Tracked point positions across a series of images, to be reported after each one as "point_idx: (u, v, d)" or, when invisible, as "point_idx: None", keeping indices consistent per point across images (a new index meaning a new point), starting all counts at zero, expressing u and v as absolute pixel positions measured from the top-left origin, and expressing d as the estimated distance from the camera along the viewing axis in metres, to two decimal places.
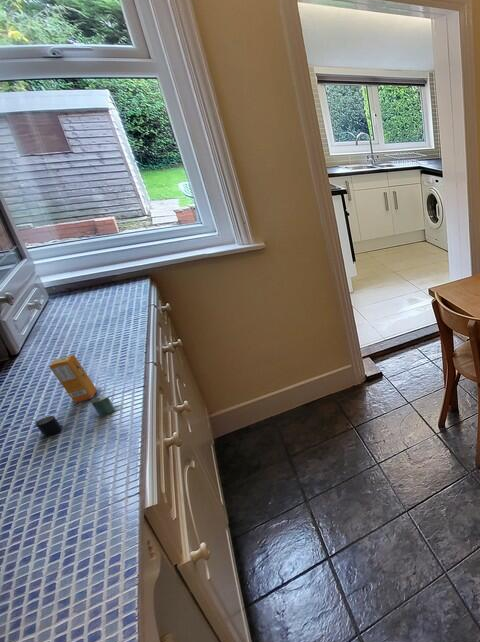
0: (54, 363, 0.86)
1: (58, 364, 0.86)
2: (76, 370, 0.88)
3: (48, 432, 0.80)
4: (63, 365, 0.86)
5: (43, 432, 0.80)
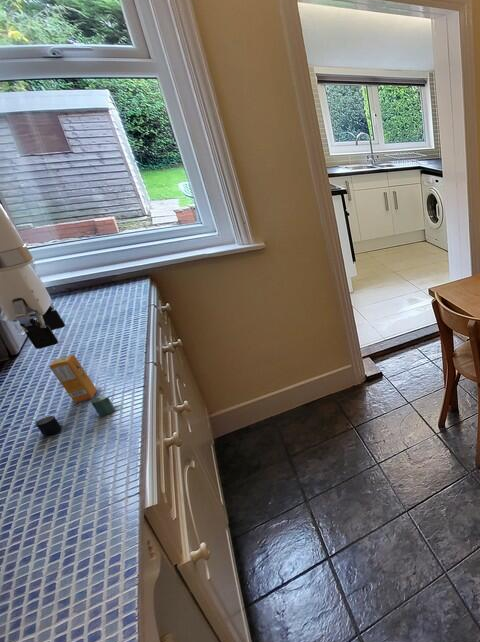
0: (54, 363, 0.86)
1: (58, 364, 0.86)
2: (76, 370, 0.88)
3: (48, 432, 0.80)
4: (63, 365, 0.86)
5: (43, 432, 0.80)
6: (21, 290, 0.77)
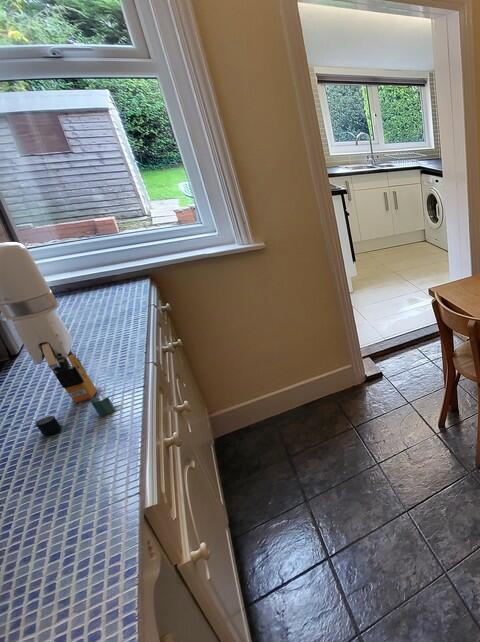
0: None
1: None
2: None
3: (48, 432, 0.80)
4: None
5: (43, 432, 0.80)
6: (47, 334, 0.81)
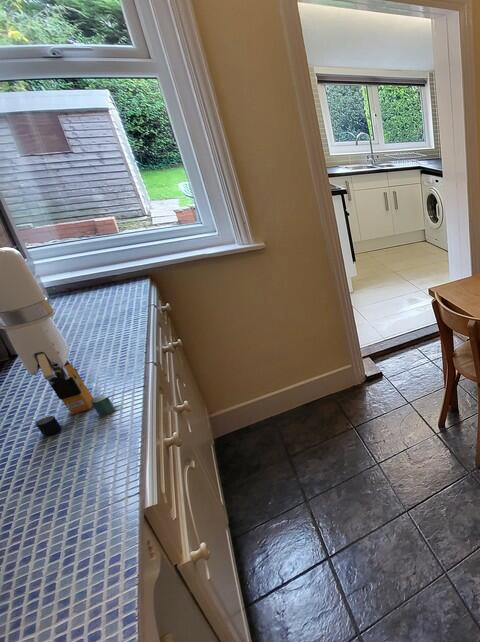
0: None
1: None
2: None
3: (48, 432, 0.80)
4: None
5: (43, 432, 0.80)
6: (42, 344, 0.77)
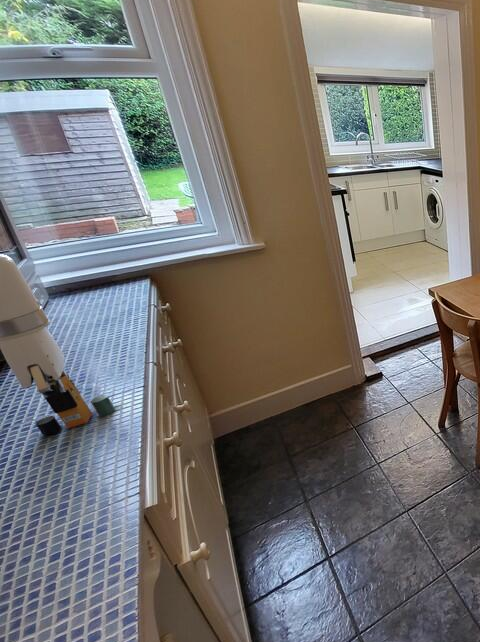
0: None
1: None
2: None
3: (48, 432, 0.80)
4: None
5: (43, 432, 0.80)
6: (36, 356, 0.73)
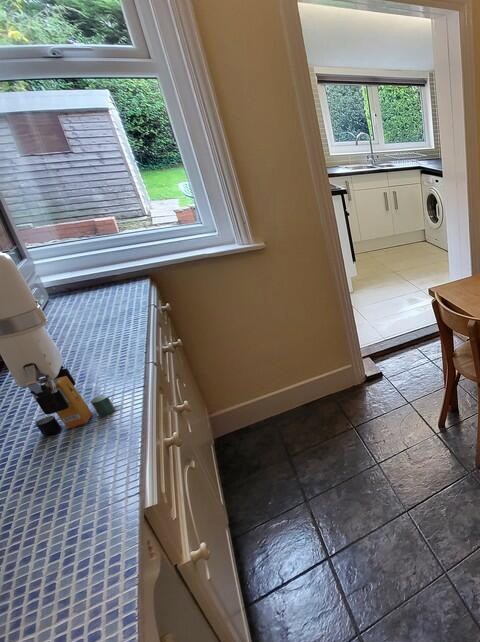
0: None
1: None
2: (69, 393, 0.80)
3: (48, 432, 0.80)
4: None
5: (43, 432, 0.80)
6: (33, 355, 0.73)
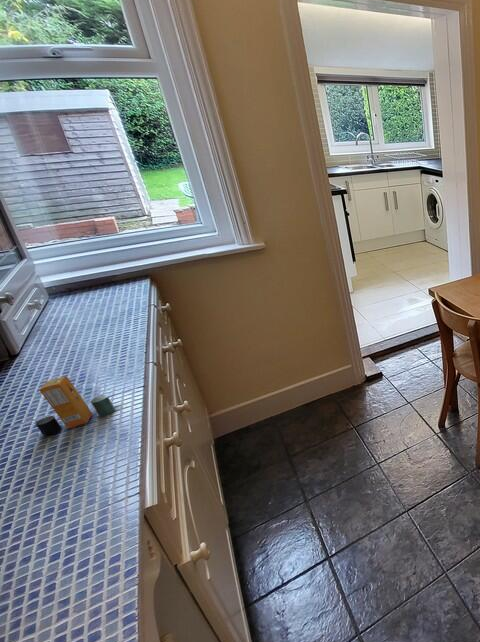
0: (45, 386, 0.78)
1: (49, 387, 0.78)
2: (69, 393, 0.80)
3: (48, 432, 0.80)
4: (54, 388, 0.79)
5: (43, 432, 0.80)
6: None
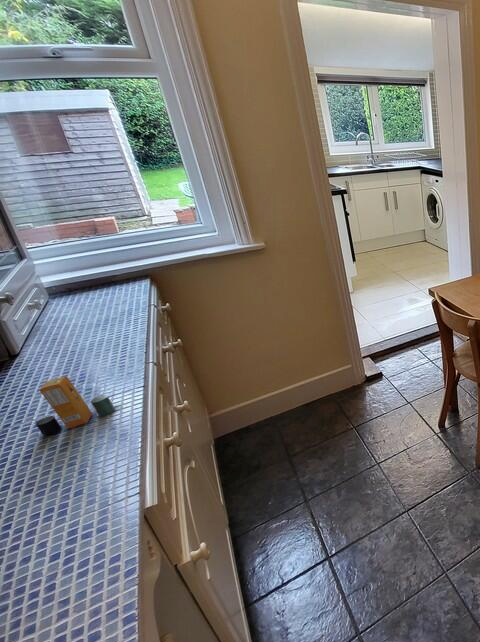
0: (45, 386, 0.78)
1: (49, 387, 0.78)
2: (69, 393, 0.80)
3: (48, 432, 0.80)
4: (54, 388, 0.79)
5: (43, 432, 0.80)
6: None
